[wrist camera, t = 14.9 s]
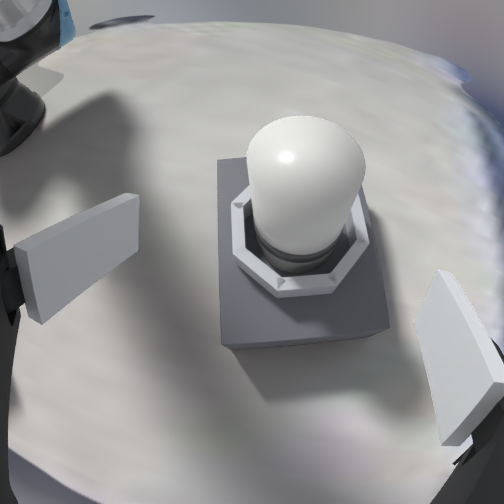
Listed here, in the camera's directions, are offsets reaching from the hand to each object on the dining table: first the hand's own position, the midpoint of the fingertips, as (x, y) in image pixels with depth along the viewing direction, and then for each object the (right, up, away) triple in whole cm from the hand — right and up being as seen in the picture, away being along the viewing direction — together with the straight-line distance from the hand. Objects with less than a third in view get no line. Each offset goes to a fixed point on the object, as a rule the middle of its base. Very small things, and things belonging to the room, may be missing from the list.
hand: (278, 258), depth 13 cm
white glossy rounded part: (+3, +2, +15) cm, 16 cm away
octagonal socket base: (+3, 0, +21) cm, 21 cm away
